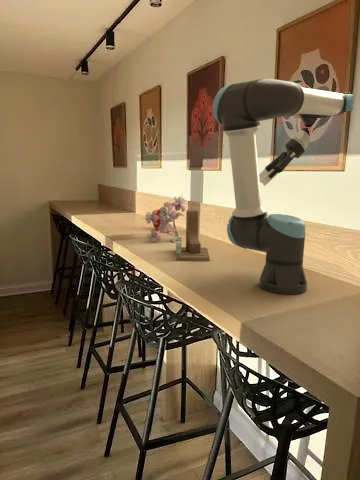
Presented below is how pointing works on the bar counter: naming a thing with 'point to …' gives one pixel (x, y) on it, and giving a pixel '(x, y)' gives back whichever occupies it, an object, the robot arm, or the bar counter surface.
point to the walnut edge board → (187, 256)
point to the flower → (165, 219)
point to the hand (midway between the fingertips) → (258, 182)
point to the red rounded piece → (157, 220)
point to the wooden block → (192, 232)
